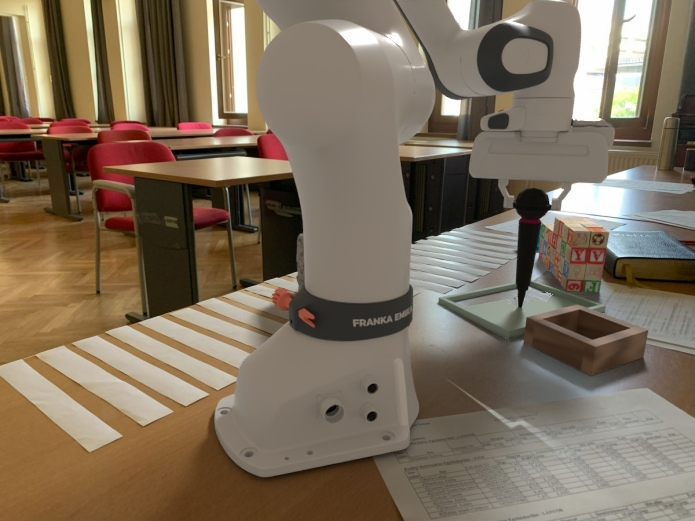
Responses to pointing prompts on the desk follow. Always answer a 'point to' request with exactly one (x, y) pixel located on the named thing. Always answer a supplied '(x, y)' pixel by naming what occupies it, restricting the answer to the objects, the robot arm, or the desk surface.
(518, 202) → the microphone
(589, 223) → the stack of blocks
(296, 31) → the robot arm
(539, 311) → the tray
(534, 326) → the holder
